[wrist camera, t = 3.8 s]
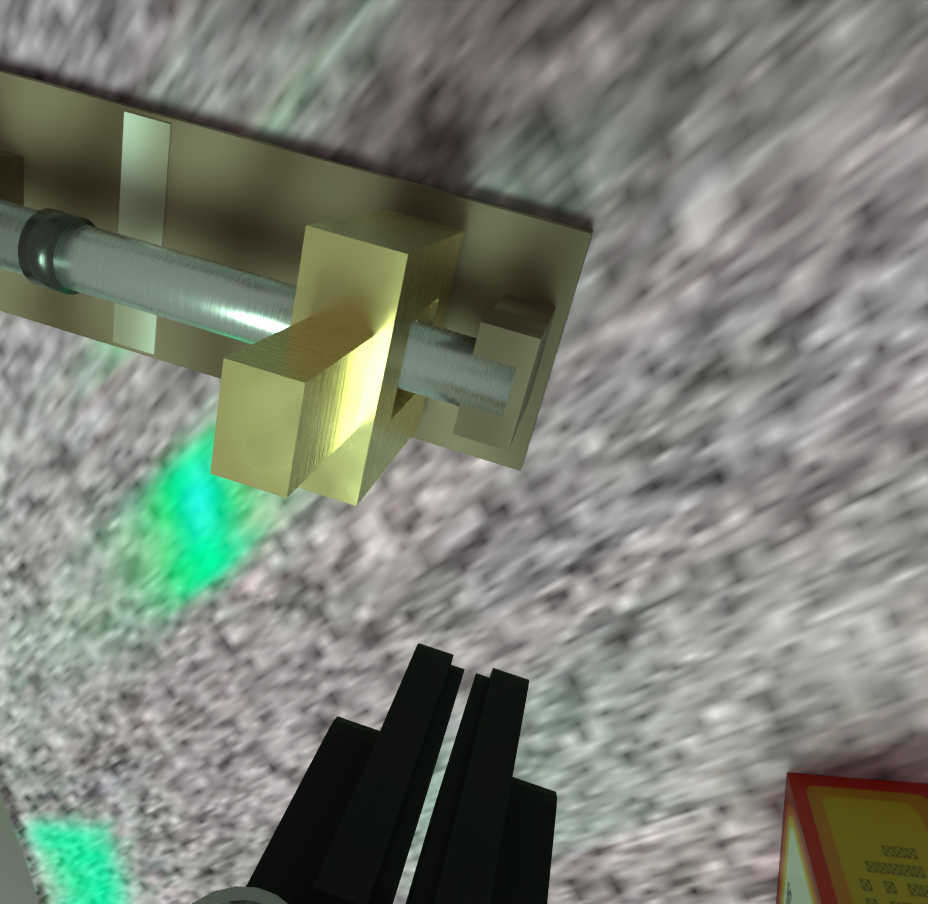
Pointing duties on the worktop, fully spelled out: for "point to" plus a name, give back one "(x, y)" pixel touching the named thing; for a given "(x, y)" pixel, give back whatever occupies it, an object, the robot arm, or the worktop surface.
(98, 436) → the worktop surface
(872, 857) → the baking soda box
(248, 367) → the collar
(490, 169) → the worktop surface
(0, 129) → the pipe stand
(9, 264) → the pipe
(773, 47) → the worktop surface
